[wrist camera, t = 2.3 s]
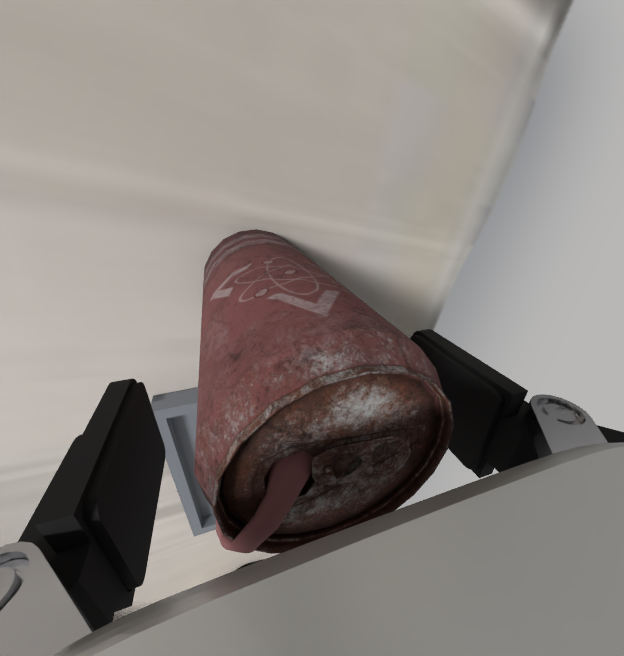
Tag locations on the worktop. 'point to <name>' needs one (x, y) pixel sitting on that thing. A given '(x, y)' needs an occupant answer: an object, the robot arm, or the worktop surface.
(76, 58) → the worktop surface
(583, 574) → the robot arm
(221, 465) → the can
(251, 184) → the worktop surface
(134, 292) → the worktop surface
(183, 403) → the tray
